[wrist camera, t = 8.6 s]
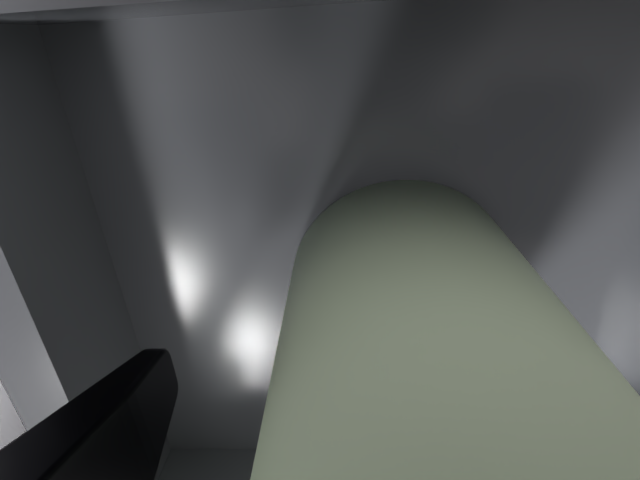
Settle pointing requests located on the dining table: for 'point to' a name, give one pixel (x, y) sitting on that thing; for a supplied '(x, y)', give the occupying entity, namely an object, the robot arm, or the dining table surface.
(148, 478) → the robot arm
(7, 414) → the dining table surface
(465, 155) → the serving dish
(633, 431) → the pale green cylinder
